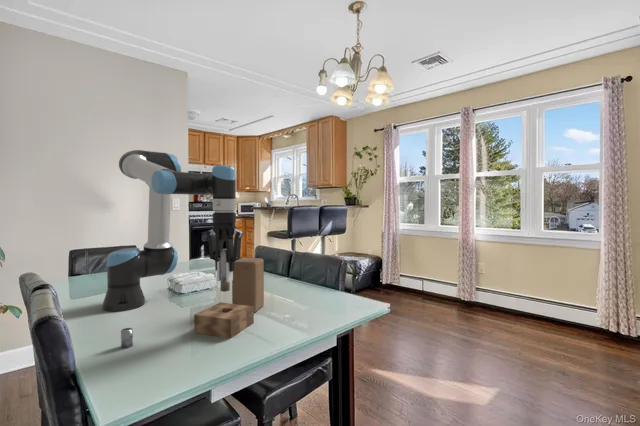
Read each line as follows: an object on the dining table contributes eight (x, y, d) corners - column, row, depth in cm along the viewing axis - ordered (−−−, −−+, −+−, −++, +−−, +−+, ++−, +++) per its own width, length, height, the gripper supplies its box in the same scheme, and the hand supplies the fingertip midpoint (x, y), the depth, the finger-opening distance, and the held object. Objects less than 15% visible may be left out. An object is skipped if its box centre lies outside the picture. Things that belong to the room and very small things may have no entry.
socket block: (194, 332, 108) (194, 314, 108) (220, 318, 122) (220, 302, 121) (231, 338, 104) (230, 319, 104) (253, 323, 117) (253, 306, 117)
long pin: (218, 291, 111) (218, 249, 111) (223, 288, 114) (223, 248, 114) (226, 291, 110) (225, 250, 110) (231, 289, 113) (231, 249, 113)
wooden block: (255, 313, 127) (255, 262, 126) (231, 312, 129) (230, 261, 128) (264, 305, 137) (264, 258, 136) (242, 304, 139) (242, 257, 138)
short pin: (118, 347, 97) (118, 331, 97) (127, 343, 100) (127, 327, 100) (126, 349, 96) (126, 332, 96) (135, 345, 99) (134, 328, 99)
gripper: (197, 211, 111) (198, 281, 111) (238, 212, 105) (239, 284, 106) (211, 211, 118) (212, 276, 118) (250, 211, 112) (251, 279, 113)
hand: (225, 280), depth 112 cm, fingers closed on long pin, 3 cm apart
